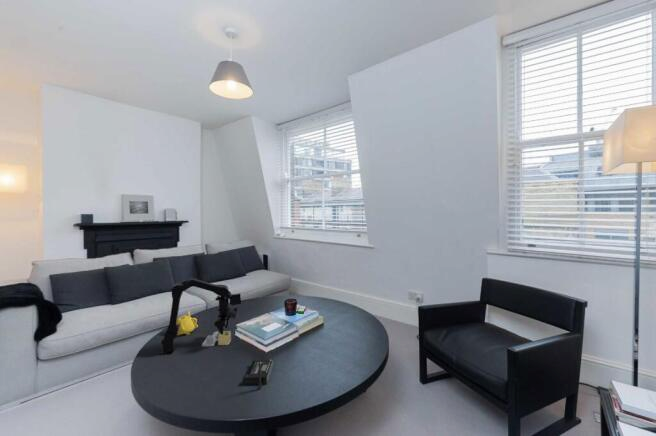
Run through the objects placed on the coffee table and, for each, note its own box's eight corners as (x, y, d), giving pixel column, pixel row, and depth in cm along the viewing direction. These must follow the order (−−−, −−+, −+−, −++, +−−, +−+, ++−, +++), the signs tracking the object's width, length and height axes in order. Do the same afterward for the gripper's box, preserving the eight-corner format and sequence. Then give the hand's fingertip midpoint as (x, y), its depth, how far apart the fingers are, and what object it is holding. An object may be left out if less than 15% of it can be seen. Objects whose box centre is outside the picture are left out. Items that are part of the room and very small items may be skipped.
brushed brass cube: (228, 344, 174) (228, 335, 173) (218, 345, 173) (218, 335, 173) (231, 340, 180) (230, 330, 179) (221, 340, 179) (221, 331, 179)
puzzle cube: (306, 319, 211) (306, 306, 211) (304, 325, 201) (303, 311, 201) (293, 319, 212) (293, 305, 212) (290, 324, 202) (290, 310, 202)
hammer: (213, 346, 172) (213, 338, 172) (202, 346, 172) (201, 339, 172) (222, 333, 189) (221, 326, 189) (211, 333, 189) (211, 327, 189)
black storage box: (250, 366, 151) (249, 334, 150) (276, 366, 151) (275, 334, 150) (238, 391, 131) (237, 354, 130) (269, 390, 131) (268, 354, 130)
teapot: (193, 338, 182) (192, 321, 182) (168, 340, 180) (168, 322, 179) (202, 325, 202) (201, 309, 201) (180, 327, 200) (179, 311, 199)
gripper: (233, 311, 167) (233, 337, 167) (240, 300, 185) (241, 324, 186) (213, 312, 166) (214, 338, 166) (223, 301, 184) (223, 324, 185)
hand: (224, 330), depth 176 cm, fingers open, 9 cm apart
